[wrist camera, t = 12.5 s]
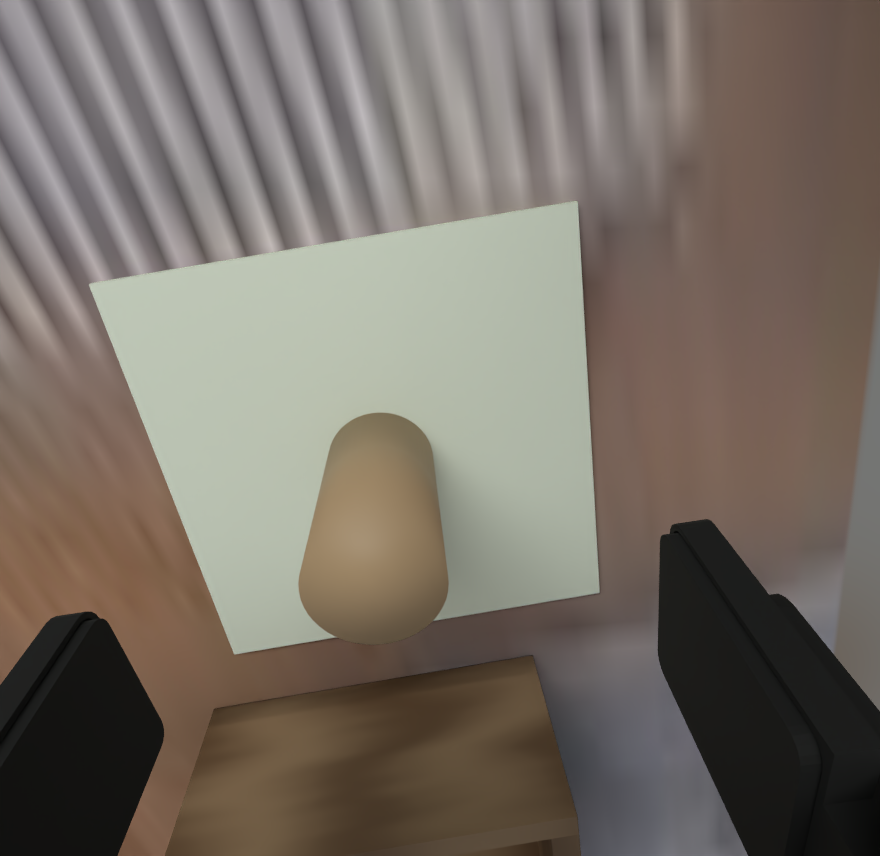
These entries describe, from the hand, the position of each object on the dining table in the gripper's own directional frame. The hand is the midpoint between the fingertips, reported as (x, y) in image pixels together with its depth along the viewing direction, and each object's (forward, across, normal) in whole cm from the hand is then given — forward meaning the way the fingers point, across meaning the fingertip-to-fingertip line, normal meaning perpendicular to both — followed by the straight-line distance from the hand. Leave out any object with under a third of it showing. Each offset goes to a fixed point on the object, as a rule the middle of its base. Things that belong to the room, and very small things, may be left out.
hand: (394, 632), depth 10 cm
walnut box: (+8, +3, +16) cm, 18 cm away
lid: (+9, +1, +1) cm, 9 cm away
